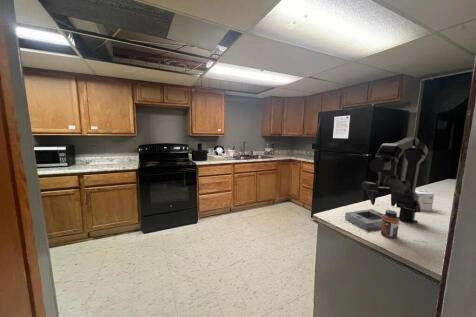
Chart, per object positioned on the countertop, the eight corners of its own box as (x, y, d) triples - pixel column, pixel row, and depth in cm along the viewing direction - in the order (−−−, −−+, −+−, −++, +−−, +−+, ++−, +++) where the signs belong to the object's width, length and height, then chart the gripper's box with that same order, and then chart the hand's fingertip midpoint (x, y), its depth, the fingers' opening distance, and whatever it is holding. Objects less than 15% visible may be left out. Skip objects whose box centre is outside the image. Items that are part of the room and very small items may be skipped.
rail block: (371, 215, 110) (371, 208, 110) (395, 225, 98) (395, 218, 97) (344, 218, 105) (345, 212, 105) (366, 230, 93) (367, 223, 92)
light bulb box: (422, 206, 122) (425, 190, 121) (432, 211, 115) (434, 193, 114) (404, 206, 123) (406, 189, 122) (412, 210, 117) (415, 193, 115)
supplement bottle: (377, 232, 92) (379, 209, 90) (389, 231, 92) (391, 208, 90) (388, 239, 86) (390, 214, 84) (400, 238, 86) (403, 214, 85)
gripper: (380, 173, 79) (375, 210, 81) (425, 176, 80) (419, 213, 81) (362, 169, 91) (358, 202, 92) (402, 171, 91) (397, 204, 92)
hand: (382, 205), depth 89 cm, fingers open, 9 cm apart
